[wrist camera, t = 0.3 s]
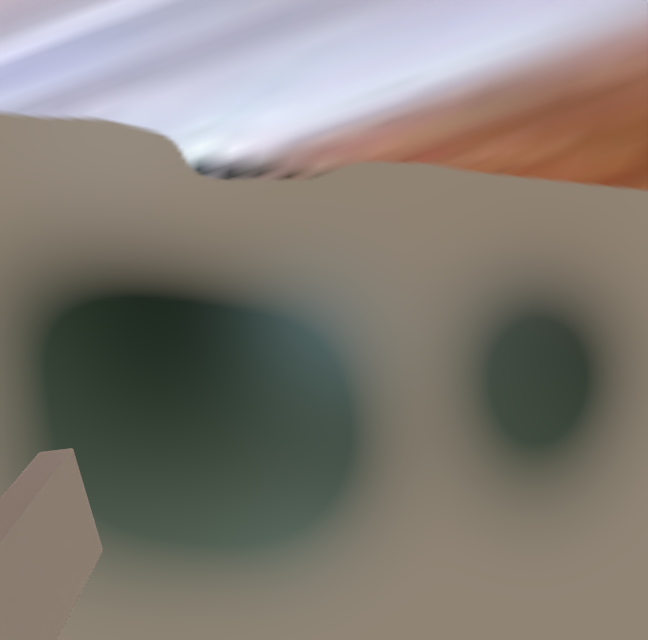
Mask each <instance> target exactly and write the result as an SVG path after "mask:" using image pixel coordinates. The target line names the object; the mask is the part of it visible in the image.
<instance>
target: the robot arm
mask: <svg viewBox="0 0 648 640" xmlns="http://www.w3.org/2000/svg"><path fill="white" fill-rule="evenodd" d="M102 551H103V550H102V546H101V542H100V539H99V535H98V532H97V529H96V525H95V522H94V519H93V515H92V512H91V509H90V505H89V502H88V498H87V495H86V491H85V488H84V485H83V481H82V478H81V474H80V471H79V468H78V464H77V461H76V458H75V454H74V451H73V448H71V449H63V450H55V451H46V452H40V453H38V455H37V456H36V457H35V458H34V460H33V461H32V462H31V463H30V464H29V465H28V466H27V467H26V469H25V470H24V471H23V472H22V473H21V474H20V476H19V477H18V478H17V479H16V480H15V482H14V483H13V484H12V485H11V486H10V487H9V488H8V490H7V491H6V492H5V493H4V494H3V496H2V497H1V498H0V640H57V638H58V636H59V635H60V633H61V631H62V629H63V627H64V625H65V623H66V621H67V619H68V617H69V615H70V613H71V611H72V609H73V607H74V606H75V603H76V602H77V600H78V598H79V596H80V594H81V592H82V590H83V588H84V586H85V584H86V582H87V580H88V578H89V576H90V574H91V572H92V571H93V569H94V567H95V565H96V563H97V561H98V559H99V557H100V555H101V553H102Z"/></svg>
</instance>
